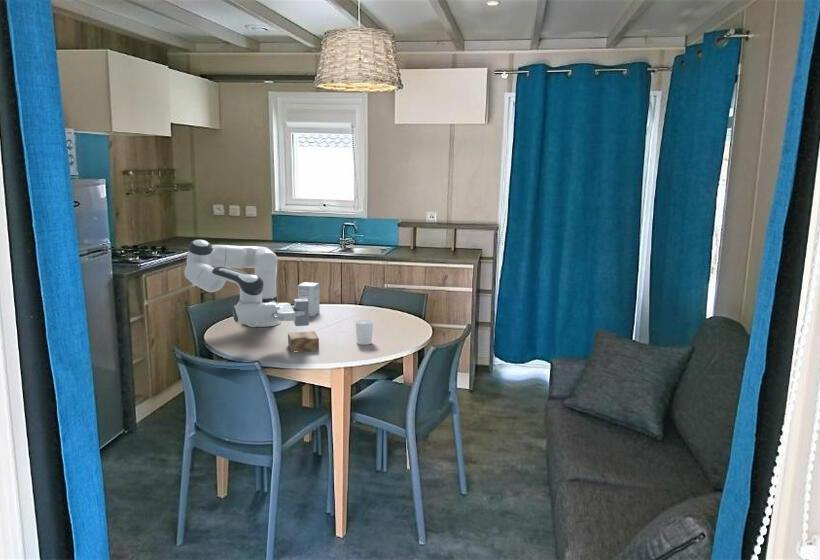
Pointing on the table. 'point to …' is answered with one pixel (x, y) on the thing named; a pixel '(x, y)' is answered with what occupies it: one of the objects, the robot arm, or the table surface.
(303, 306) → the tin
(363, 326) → the white cup
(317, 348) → the walnut block
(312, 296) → the supplement box
